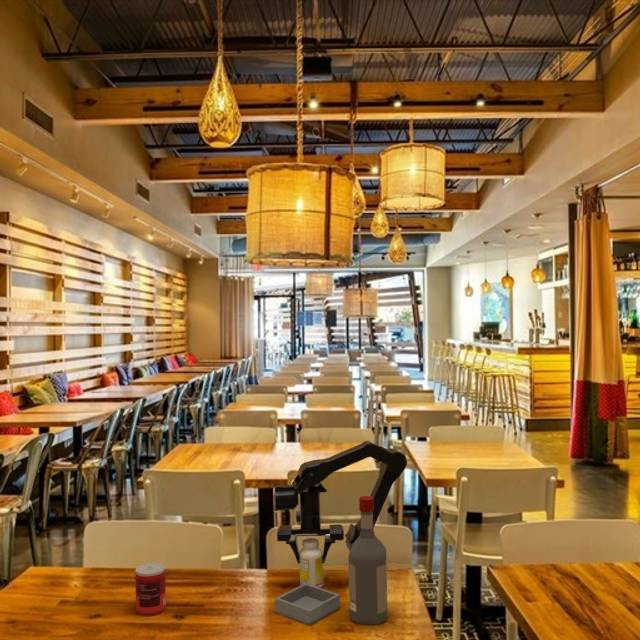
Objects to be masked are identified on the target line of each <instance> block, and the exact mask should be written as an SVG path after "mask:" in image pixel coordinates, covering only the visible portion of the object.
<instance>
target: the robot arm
mask: <svg viewBox="0 0 640 640" xmlns="http://www.w3.org/2000/svg"><path fill="white" fill-rule="evenodd" d="M368 458H372V459H373V460H376V461H378V462H380V463H379V469H378V470H379V472H378V476H377V480H376V482H375V484H374V486H373V489H372V491H371V493H370V496H371V497H373V498H374V511H373V529H374V528H375V526H376V523H377V521H378V519H379V515H380V514H381V512H382V509H383V507H384V505H385V503H386V500H387V498H388V495H389V493H390V491H391V489H392V486H393V484H394V483H395V482H396V481H397V480H398V478H400V477H401V475H402V474H403V472H404V471H405V469H406V467H407V464H408V459H407V456H406V455H405V454H404V453H403V452H401V451H399V450H398V449H396V448H393V447H391V448H386V447H383V446H380V445H377V443H373V442H372V441H370V440H364V441H363V442H362V443H360V444H357V445H355V446H353V447H350V448H348V449H346V450H343V451H341V452H339V453H336V454H333V455H331V456H329V457H326V458H321V459H320V458H319V459H313V460H309V461H304V462H302V463H301V464H300V465H299V468H298V471H297V474H296V476H295V478H294V479H293V481H292V482H291V484H290V485H288V484H287V485H279V484H277V485H276V484H275V485H274V486H273V487H274V490H273V497H272V500H273V510H274V512H275V511H277V512H279V511H289V510H295V509H296V508H298V507H297V506H299V510H296V511H295V522H296V523H300V526H299V527H300V528H296V529H295V528H293V526H292V525H289V524H287V525H283V524H282V525H279V526H278V528H277V532H276V541H277V542H285V545H289V547H290V548H291V550H292V551H293V554H294V557H295V559H296V562H297V564H298V565H300V562H299V553H300V551H299V545H298V544H299V543H298V537H322V536H324V541H323V542H324V543H323V550H322V553H323V564H325V562H326V558H327V556H328V553H329V550H330V548H331V547H332V544H336V541H344V540H345V545H346V548H347V550H348V551H349V552H350V550H351V547H352V544H353V543H354V542H355V541H356V540H357V538H358V537H359V536H360V532H361V517H360V519H358V520H359V521H358V522H356V524H353V523H350V524H349V526H348V527H349V528H348V529H347V533H344V530H345V529H344V526H343V525H342V524H341V523H340V524H329V528H321V526H322V521H321V493H327V492H328V489H327V488H326V487H325V486H324V485H323V483H321V482H323V481H325V480H326V479H327V478H328V477H330V476H331V474H333V473H334V472H335V473H336V472H337V471H340V470H342V469H344V468H347V467H349V466H351V465H354V464H356V463H358V462H361V461H363V460H366V459H368Z"/></svg>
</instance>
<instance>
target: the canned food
mask: <svg viewBox="0 0 640 640" xmlns="http://www.w3.org/2000/svg"><path fill="white" fill-rule="evenodd" d="M134 576H135V577H134V580H135V581H134V582H135V610H136V612H137V614H138V615H139V616H142V615H143V616H144V617H151V615H153V616H157V615H159V614H161V613H162V612H164V611H165V610H166V606H167V605H166V604H167V598H166V597H167V593H166V592H167V591H166V588H167V585H166V584H167V583H166V566H165V564H164V563H161V562H146V563H144V564H140V565H139V566H136V568H135V572H134ZM156 614H157V615H156Z"/></svg>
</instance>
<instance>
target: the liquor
mask: <svg viewBox="0 0 640 640" xmlns="http://www.w3.org/2000/svg"><path fill="white" fill-rule="evenodd" d="M358 498H359V499H358V500H359V502H358V503H359V504H358V506H359V507H358V509H359V511H360V518H361V532H360V536H359V537H358V538H357V540H356V541H355V542H354V543H353V544H352V547H351V550H350V551H349V553H348V555H347V556H348V598H349V599H348V600H349V617H350V620H351V621H353V622H354V623H356V624H358V623H359V625H372V624H373V625H377V626H378V625H381V624H383V623H385V622H386V620H387V617H388V610H389V609H388V574H387V573H388V571H387V569H388V567H387V560H388V559H387V548H386V546H385V545H384V544H383V542H382V541H381V540H380V539H379V538H378V537H377V536H376V535H375V530H374V528H373V511H374V498H373V497H371V496H369V495H363V496H360V497H358ZM360 623H362V624H360Z"/></svg>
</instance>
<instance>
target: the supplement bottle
mask: <svg viewBox="0 0 640 640" xmlns="http://www.w3.org/2000/svg"><path fill="white" fill-rule="evenodd" d="M301 541H302V549H300V551H299V562H300V563H299V586H301V585H303V584H305V583H306V584H309V585H312V586H315V587H318V588H321V589H322V587H323V586H324V563H323V550H322V549H321V548H320V547H319V545H320V542H319V541H320V540H319V539H318V538H314V537H309V538H305V539H302V540H301Z"/></svg>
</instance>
